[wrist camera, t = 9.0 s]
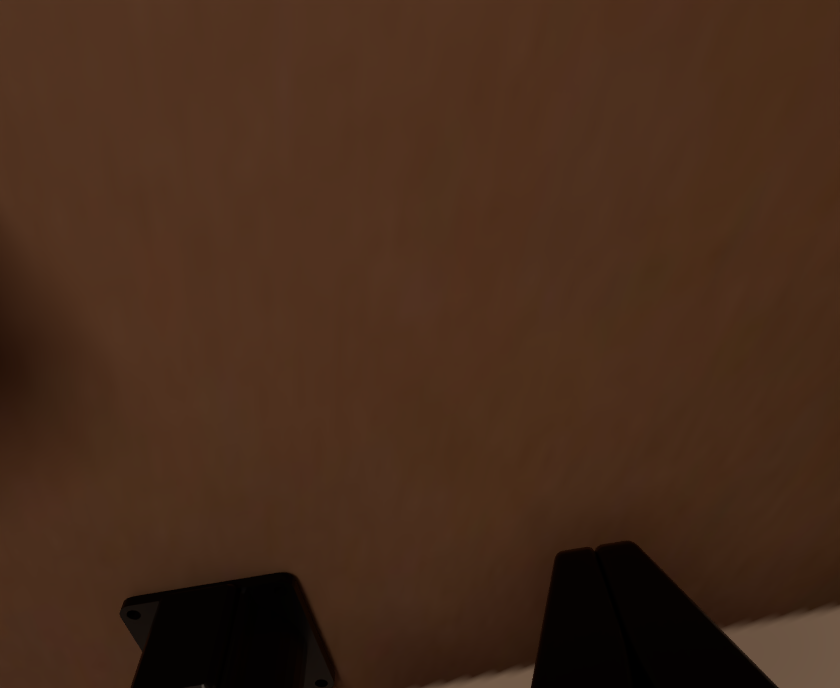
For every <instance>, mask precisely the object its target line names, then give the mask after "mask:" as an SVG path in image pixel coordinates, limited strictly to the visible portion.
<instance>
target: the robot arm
mask: <svg viewBox="0 0 840 688" xmlns="http://www.w3.org/2000/svg"><path fill="white" fill-rule="evenodd" d="M279 586H283V587H279ZM120 617H121V618H122V620H123V622H124V623H125V625H126V626H127V628H128V630H129V631H130V633H131V634H132V636H133V638H134V639H135V641H136V642H137V644H138V645H139V647H140V649H141V650H142V655H141V658H140V661H139V664H138V667H137V670H136V673H135V676H134V679H133V682H132V685H131V688H332V687H333V685H334V678H335V673H334V670H333V668H332V665H331V663H330V661H329V658H328V656H327V654H326V651H325V649H324V646H323V644H322V642H321V639H320V637H319V635H318V632H317V630H316V628H315V625H314V623H313V620H312V618H311V616H310V613H309V611H308V609H307V606H306V604H305V601H304V599H303V597H302V594H301V592H300V590H299V587H298V585H297V582H296V580H295V579H294V577H293V576H291V575H289V574H286V573H274V574H268V575H262V576H256V577H250V578H244V579H238V580H232V581H226V582H220V583H214V584H207V585H201V586H195V587H189V588H183V589H177V590H171V591H165V592H159V593H153V594H147V595H140V596H134V597H130V598H127V599H126V600H125V601H124V603H123V605H122V608H121V610H120ZM531 688H778V687H777V686H776V685H775V684H774V683H773V682H772V681H771V680H770V679H769V678H768V677H767V676H766V675H765V674H764V673H763V672H762V671H761V670H760V669H759V668H758V666H756V664H755V663H754V662H752V660H751V659H749V657H748V656H747V655H745V653H743V651H742V650H741V649H740V648H739V647H738V646H737V645H736V644H735V643H734V642H733V641H732V640H731V639H730V638H729V637H728V636H727V635H726V634H725V633H724V632H723V631H722V630H721V629H720V628H719V627H718V626H717V625H716V624H715V623H714V622H713V621H712V620H711V619H710V618H709V617H708V616H707V615H706V614H705V613H704V612H703V611H702V610H701V609H700V608H699V607H698V606H697V605H696V604H695V603H694V602H693V601H692V600H691V599H690V598H689V597H688V596H687V595H686V594H685V593H684V592H683V591H682V590H681V589H680V588H679V587H678V586H677V585H676V584H675V583H674V582H673V581H672V580H671V579H670V578H669V577H668V576H667V574H666V573H665V572H664V571H663V570H662V569H661V568H660V567H659V566H658V565H657V564H656V563H655V562H654V561H653V560H652V559H651V558H650V557H649V556H648V555H647V554H646V553H645V552H644V551H643V550H642V549H641V548H640V547H639V546H638V545H636V544H635V543H634V542H631V541H621V542H615V543H609V544H602V545H599V546H598V547H597V548H596V550H595V551H594V550H593V549H592V548H590V547H584V548H577V549H571V550H565V551H560V552H559V553H557V555H556V557H555V560H554V565H553V571H552V576H551V582H550V587H549V593H548V598H547V603H546V609H545V614H544V620H543V625H542V631H541V636H540V641H539V647H538V652H537V658H536V663H535V669H534V674H533V679H532V685H531Z"/></svg>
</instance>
